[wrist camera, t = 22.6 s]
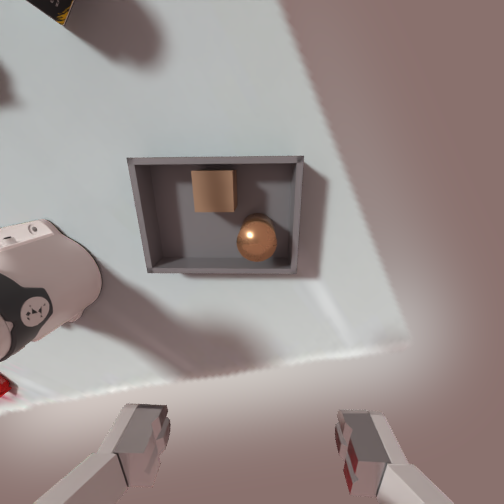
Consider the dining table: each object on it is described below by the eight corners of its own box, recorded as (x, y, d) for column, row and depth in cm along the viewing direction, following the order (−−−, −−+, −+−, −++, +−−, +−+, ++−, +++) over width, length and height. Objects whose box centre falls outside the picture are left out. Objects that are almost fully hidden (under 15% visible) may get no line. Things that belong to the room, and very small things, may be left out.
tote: (161, 260, 39) (147, 273, 34) (145, 158, 33) (126, 157, 29) (292, 260, 38) (296, 274, 33) (297, 157, 32) (303, 155, 28)
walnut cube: (203, 205, 34) (194, 212, 30) (201, 170, 33) (191, 170, 28) (237, 205, 34) (233, 212, 30) (236, 169, 33) (232, 170, 28)
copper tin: (242, 245, 36) (237, 262, 30) (240, 213, 35) (235, 223, 28) (274, 244, 36) (276, 261, 30) (274, 212, 34) (277, 222, 28)
